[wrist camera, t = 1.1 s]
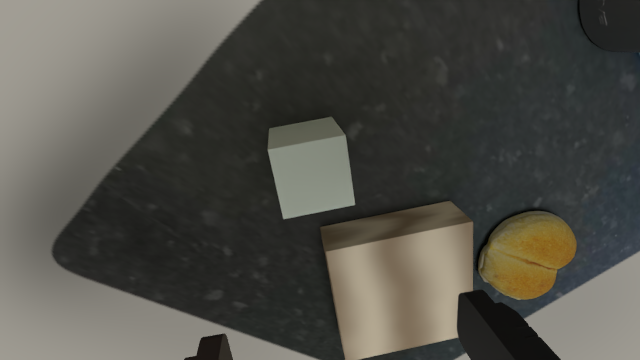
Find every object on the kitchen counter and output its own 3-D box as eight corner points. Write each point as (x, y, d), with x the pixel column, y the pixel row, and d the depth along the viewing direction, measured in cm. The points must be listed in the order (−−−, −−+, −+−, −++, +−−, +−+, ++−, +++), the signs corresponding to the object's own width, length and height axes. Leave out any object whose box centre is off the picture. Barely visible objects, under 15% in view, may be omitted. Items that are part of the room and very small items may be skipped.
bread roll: (575, 222, 35) (610, 243, 31) (522, 292, 37) (549, 320, 34) (510, 193, 33) (541, 213, 29) (460, 270, 35) (481, 297, 32)
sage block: (331, 116, 28) (345, 135, 22) (340, 174, 30) (355, 204, 24) (269, 128, 28) (267, 149, 22) (281, 186, 30) (283, 219, 24)
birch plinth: (450, 200, 32) (472, 221, 28) (452, 304, 36) (472, 334, 33) (319, 227, 31) (325, 251, 28) (338, 329, 36) (346, 362, 32)
